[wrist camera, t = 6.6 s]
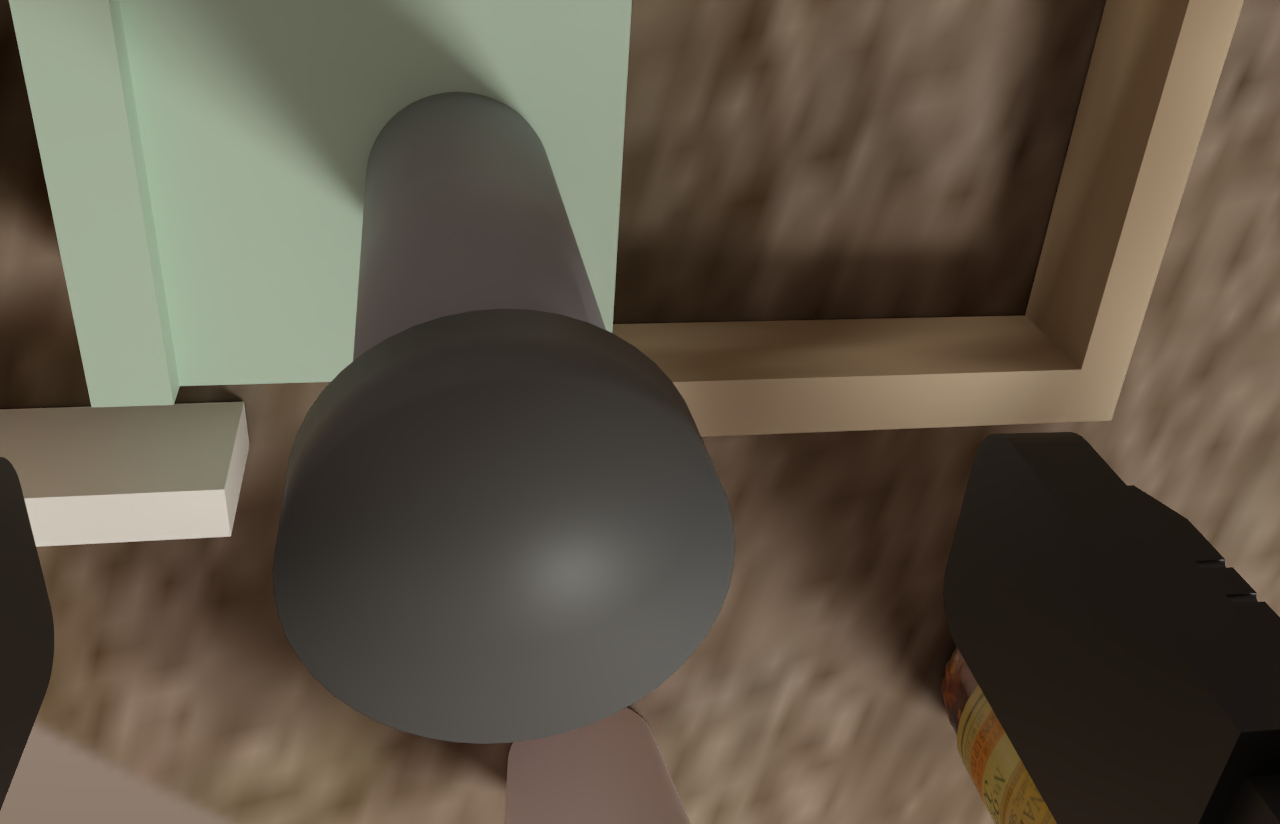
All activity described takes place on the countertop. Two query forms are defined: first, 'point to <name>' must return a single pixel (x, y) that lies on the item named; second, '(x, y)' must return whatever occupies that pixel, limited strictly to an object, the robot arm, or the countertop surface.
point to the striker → (398, 329)
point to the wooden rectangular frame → (1062, 290)
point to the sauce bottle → (989, 751)
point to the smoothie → (592, 777)
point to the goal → (128, 470)
